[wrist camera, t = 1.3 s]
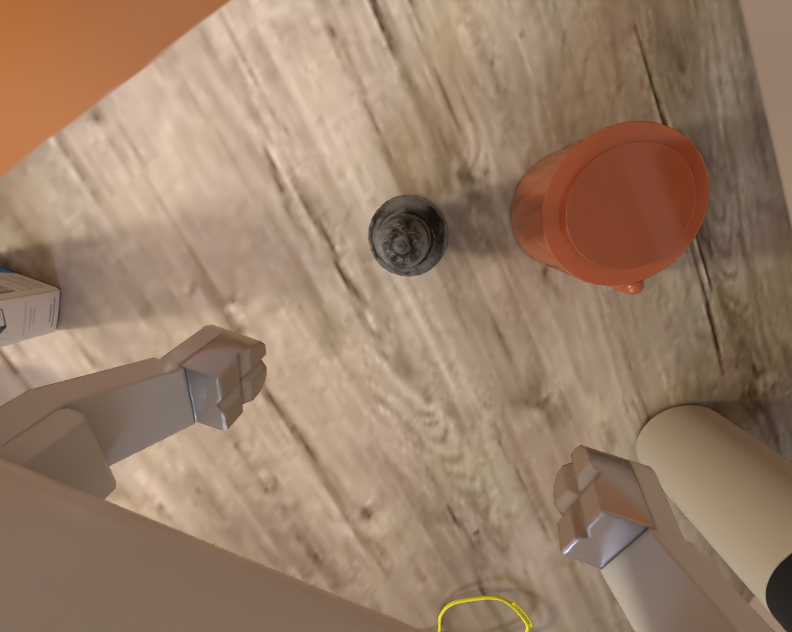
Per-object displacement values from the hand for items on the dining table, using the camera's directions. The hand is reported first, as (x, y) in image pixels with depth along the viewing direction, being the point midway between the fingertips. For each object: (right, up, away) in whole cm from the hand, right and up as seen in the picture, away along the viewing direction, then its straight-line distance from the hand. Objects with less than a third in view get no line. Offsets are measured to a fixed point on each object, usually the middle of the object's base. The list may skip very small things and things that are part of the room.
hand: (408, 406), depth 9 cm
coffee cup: (+13, +11, +19) cm, 25 cm away
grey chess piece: (+1, +9, +20) cm, 22 cm away
